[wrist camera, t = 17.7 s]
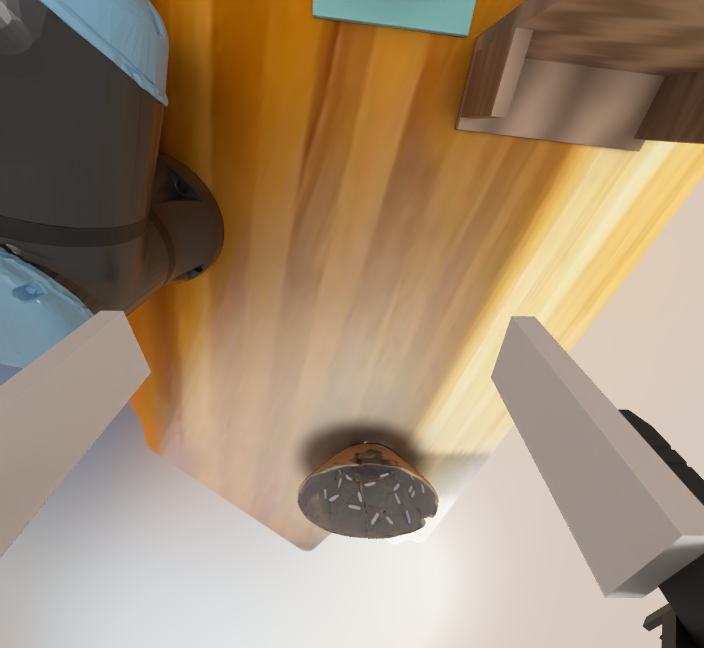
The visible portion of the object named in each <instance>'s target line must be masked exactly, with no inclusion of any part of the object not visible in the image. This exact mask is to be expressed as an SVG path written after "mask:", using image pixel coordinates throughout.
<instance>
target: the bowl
mask: <svg viewBox="0 0 704 648" xmlns="http://www.w3.org/2000/svg"><path fill="white" fill-rule="evenodd" d="M389 476H390V477H389ZM358 482H359V487H358ZM438 501H439V500H438V496H437V493H436V492H435V490H434V489H433V487H432V486H431V484H430V483H429V482H428V481H427V480H426V479H425V478H424V477H423V476H422V475H421V474H420V473H419V472H418V471H417V470H415V469H414V468H413V467H412V466H411V465H410V464H408V463H407V462H406V461H404V460H403V459H402V458H400V457H399V456H398V455H396V454H395V453H394V452H392V451H391V450H390V449H388V448H386V447H384V446H381V445H378V444H358V445H354V446H351V447H348V448H346V449H344V450H342V451H341V452H339V453H337V454H336V455H334V456H333V457H332V458H330V459H329V460H328V461H327V462H326V463H325V464H323V465H322V466H321V467H319V468H318V469H317V470H316V471H314V472H313V473H312V474H311V475H309V476H308V477H307V478H306V479H305V481H304V482H303V483H302V484H301V485H300V487H299V490H298V505H299V507H300V509H301V511H302V513H303V514H304V515H305V516H306V518H307V519H308V520H310V521H311V522H312V523H314V524H315V525H317V526H319V527H320V528H323V529H324V530H326V531H329V532H332V533H336V534H340V535H344V536H349V537H359V538H368V539H371V538H372V539H374V538H376V539H377V538H391V537H395V536H399V535H403V534H407V533H411V532H414V531H416V530H418V529H420V528H422V527H423V526H424V525H425V523H426V522H425V520H424V518H427V517H432V518H433V517H434V516H435V514H436V512H437V508H438Z"/></svg>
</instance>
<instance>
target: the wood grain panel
mask: <svg viewBox="0 0 704 648" xmlns="http://www.w3.org/2000/svg"><path fill="white" fill-rule="evenodd" d="M455 129H460V130H468V131H476V132H484V133H492V134H501V135H509V136H517V137H525V138H533V139H542V140H550V141H558V142H566V143H574V144H582V145H591V146H599V147H607V148H615V149H623V150H632V151H640V149H641V147H642V145H643V143H644V141H645V140H651V141H666V142H681V143H696V144H704V0H526V1H525V2H524V3H522V4H521V5H520V6H518V7H517V8H515V9H514V10H513V11H511V12H510V13H509V14H507V15H506V16H505V17H503V18H502V19H501V20H499V21H498V22H497V23H495V24H494V25H493V26H491V27H490V28H488V29H487V30H486V31H484V32H483V33H482V34H480V35H479V36H478V37H477V38H476V42H475V46H474V50H473V55H472V59H471V63H470V67H469V71H468V76H467V80H466V84H465V88H464V92H463V97H462V101H461V105H460V109H459V113H458V118H457V122H456V126H455Z"/></svg>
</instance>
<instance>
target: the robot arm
mask: <svg viewBox="0 0 704 648" xmlns="http://www.w3.org/2000/svg"><path fill="white" fill-rule="evenodd" d="M168 56H169V38H168V34H167V30H166V27H165V25H164V22H163V20H162V18H161V16H160V15H159V13H158V12H157V10H156V9H155V7H154V6H153V5H152V4H151V2H150V1H149V0H0V364H5V365H9V366H16V367H22V368H23V367H24V369H23V370H21V371H20V372H19V373H17V374H16V375H15V376H13V377H12V378H11V379H9V380H8V381H7V382H5V383H4V384H3V385H1V386H0V558H1V557H2V556H3V554H4V553H5V552H6V551H7V549H8V548H9V547H10V546H11V545H12V543H13V542H14V541H15V540H16V538H17V537H18V536H19V534H20V533H21V532H22V531H23V529H24V528H25V527H26V526H27V525H28V524H29V522H30V521H31V520H32V519H33V517H34V516H35V515H36V514H37V512H38V511H39V510H40V509H41V508H42V506H43V505H44V504H45V503H46V501H47V500H48V499H49V498H50V496H51V495H52V494H53V493H54V491H55V490H56V489H57V488H58V487H59V485H60V484H61V483H62V482H63V480H64V479H65V478H66V477H67V475H68V474H69V473H70V472H71V470H72V469H73V468H74V467H75V466H76V464H77V463H78V462H79V460H80V459H81V458H82V457H83V456H84V454H85V453H86V452H87V451H88V449H89V448H90V447H91V445H92V444H93V443H94V442H95V441H96V440H97V438H98V437H99V436H100V435H101V433H102V432H103V431H104V430H105V428H106V427H107V426H108V425H109V424H110V422H111V421H112V420H113V418H114V417H115V416H116V415H117V414H118V412H119V411H120V410H121V409H122V407H123V406H124V405H125V404H126V403H127V401H128V400H129V399H130V398H131V396H132V395H133V394H134V393H135V391H136V390H137V389H138V388H139V387H140V385H141V384H142V383H143V382H144V380H145V379H146V378H147V377H148V375H149V374H150V373H151V371H150V368H149V366H148V364H147V362H146V360H145V357H144V355H143V353H142V351H141V349H140V346H139V344H138V342H137V340H136V338H135V335H134V333H133V331H132V329H131V327H130V324H129V322H128V320H127V318H126V317H127V316H128V315H129V314H130V313H131V312H133V311H134V310H135V309H136V308H137V307H139V306H140V305H141V304H142V303H143V302H145V301H146V300H147V299H148V298H149V297H151V296H152V295H153V294H154V293H155V292H157V291H158V290H159V289H160V288H161V287H163V286H167V285H171V284H176V283H180V282H184V281H188V280H191V279H193V278H195V277H197V276H199V275H200V274H202V273H203V272H204V271H206V270H207V269H208V268H209V267H210V266H211V265H212V264H213V263H214V262H215V260H216V259H217V257H218V256H219V254H220V251H221V249H222V245H223V239H224V228H223V221H222V217H221V213H220V211H219V208H218V206H217V203H216V201H215V199H214V198H213V196H212V194H211V193H210V191H209V190H208V188H207V187H206V186H205V184H204V183H203V182H202V181H201V180H200V179H199V178H198V177H197V176H196V175H195V174H194V173H193V172H192V171H191V170H190V169H188V168H187V167H186V166H184V165H183V164H181V163H180V162H178V161H177V160H175V159H173V158H171V157H169V156H167V155H164V154H161V153H158V149H159V142H160V135H161V129H162V122H163V115H164V108H165V106H167V107H168V98H167V96H166V80H167V68H168ZM491 378H492V380H493V382H494V384H495V386H496V388H497V390H498V392H499V394H500V396H501V397H502V399H503V401H504V403H505V405H506V407H507V409H508V411H509V413H510V415H511V417H512V419H513V421H514V423H515V424H516V426H517V428H518V430H519V432H520V434H521V436H522V438H523V440H524V442H525V444H526V446H527V447H528V450H529V452H530V453H531V455H532V457H533V459H534V461H535V463H536V465H537V467H538V469H539V471H540V473H541V475H542V477H543V479H544V480H545V482H546V484H547V486H548V488H549V490H550V492H551V494H552V496H553V498H554V500H555V502H556V504H557V506H558V507H559V509H560V511H561V513H562V515H563V517H564V519H565V521H566V523H567V525H568V527H569V529H570V531H571V533H572V535H573V537H574V538H575V540H576V542H577V544H578V546H579V548H580V550H581V552H582V554H583V556H584V558H585V560H586V561H587V564H588V565H589V567H590V569H591V571H592V573H593V575H594V577H595V579H596V581H597V583H598V585H599V587H600V589H601V591H602V592H603V595H604V596H605V597H606V598H607V597H609V598H610V597H611V598H643V597H645V596H646V595H647V594H649V593H650V592H652V591H653V590H655V589H656V588H657V587H659V588H660V590H661V591H662V593H663V594H664V596H665V598H666V599H667V601H668V602H669V603H668V604H667V605H665V606H663V607H662V608H660V609H658V610H657V611H655V612H654V613H652V614H651V615H649V616H647V617H646V619H645V622H644V624H643V627H644V628H646V629H647V630H648V631H651V630H652V629H654V628H656V627H657V626H659V625H661V624H662V635H661V636H660V639H661V640H662V648H704V480H703V479H702V478H701V477H700V476H699V475H698V474H697V473H696V472H695V471H694V470H693V469H692V468H691V467H688V466H687V464H686V461H685V460H684V459H683V458H682V457H681V456H680V455H679V454H678V453H677V452H676V451H675V450H672V449H671V446H670V445H669V444H668V442H666V440H665V439H664V438H663V437H662V436H661V435H660V434H659V433H658V432H657V431H656V430H655V429H654V428H653V427H652V426H651V425H649V424H648V423H647V422H645V421H644V420H642V419H641V418H639V417H638V416H637V415H635V414H634V413H632V412H631V411H629V410H617V408H616V407H615V406H614V405H613V404H612V403H611V402H610V401H609V400H608V398H607V397H606V396H605V395H604V394H603V393H602V392H601V391H600V389H599V388H598V387H597V386H596V385H595V384H594V383H593V382H592V380H591V379H590V378H589V377H588V376H587V375H586V374H585V373H584V372H583V370H582V369H581V368H580V367H579V366H578V365H577V364H576V363H575V361H574V360H572V358H571V357H570V356H569V355H568V354H567V352H566V351H565V350H564V349H563V348H562V347H561V346H560V345H559V344H558V342H557V341H556V340H555V339H554V338H553V337H552V336H551V335H550V333H549V332H548V331H547V330H546V329H545V328H544V327H543V326H542V325H541V323H540V322H539V321H538V320H537V319H536V318H535V317H525V316H512V317H511V320H510V323H509V325H508V328H507V331H506V334H505V337H504V340H503V343H502V346H501V349H500V352H499V355H498V358H497V361H496V364H495V367H494V370H493V373H492V376H491Z"/></svg>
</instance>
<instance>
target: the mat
mask: <svg viewBox="0 0 704 648" xmlns="http://www.w3.org/2000/svg"><path fill="white" fill-rule="evenodd" d="M475 2H476V0H313V17H315V18H322V19H330V20H337V21H345V22H353V23H360V24H368V25H376V26H383V27H391V28H398V29H406V30H414V31H421V32H429V33H436V34H444V35H452V36H459V37H467V36H468V33H469V29H470V25H471V20H472V16H473V11H474V7H475Z"/></svg>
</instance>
